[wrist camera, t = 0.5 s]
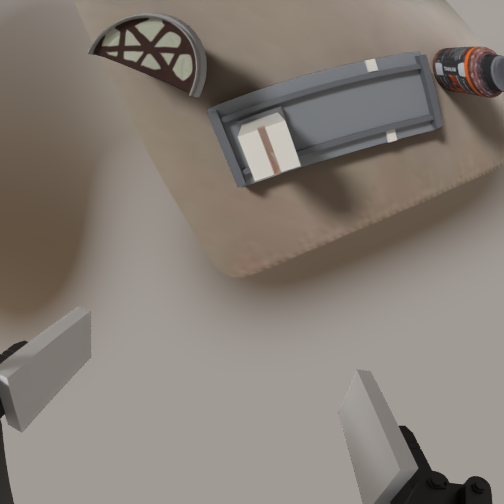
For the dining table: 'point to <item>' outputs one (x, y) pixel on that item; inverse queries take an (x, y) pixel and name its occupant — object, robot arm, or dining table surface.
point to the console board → (337, 110)
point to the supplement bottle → (470, 70)
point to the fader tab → (267, 143)
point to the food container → (156, 49)
